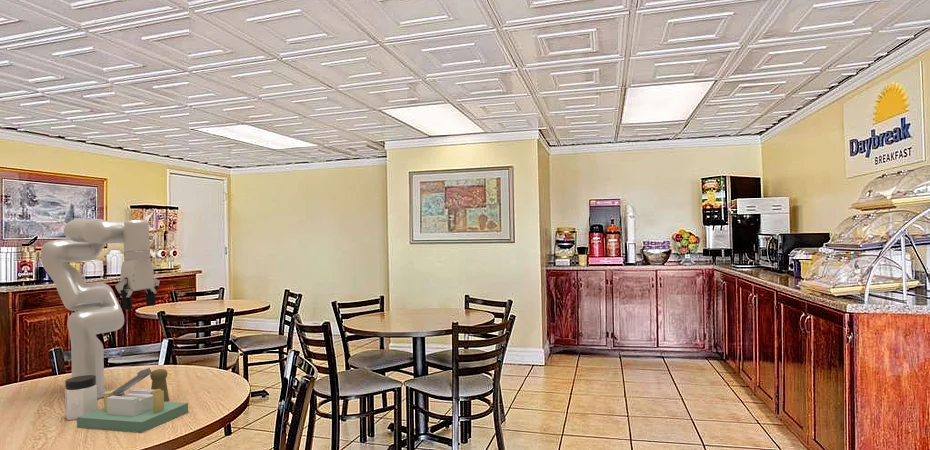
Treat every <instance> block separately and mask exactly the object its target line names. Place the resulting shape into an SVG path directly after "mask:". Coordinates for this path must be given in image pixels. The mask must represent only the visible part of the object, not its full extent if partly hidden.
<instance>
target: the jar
mask: <svg viewBox="0 0 930 450" xmlns="http://www.w3.org/2000/svg"><path fill="white" fill-rule="evenodd" d="M64 381H65V382H64V384H65V385H64V396H65V397H64V399H65V400H64V403H65V404H64V405H65V408H64V409H65V413H64V415H65V418H66V420H67V421H73V420H74V421H75V420H76V421H77V417H79V416H82V415H85V414H88V413H90V412H93V411H96V410H98V399H97V385H96V376H94V375H85V376H78V377H73V378H72V377H70V378H67V379H66V380H64Z"/></svg>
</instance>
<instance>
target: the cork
mask: <svg viewBox="0 0 930 450" xmlns="http://www.w3.org/2000/svg"><path fill="white" fill-rule="evenodd" d="M151 372H152V373H151V374H150V375H149V378H150V379H151V388H150V389H151V390H156V389H161V391H164V402H170V396H169V389H168V385H167V377H168V370H166V368H159V369H158V368H157V369H154V370H151Z"/></svg>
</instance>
